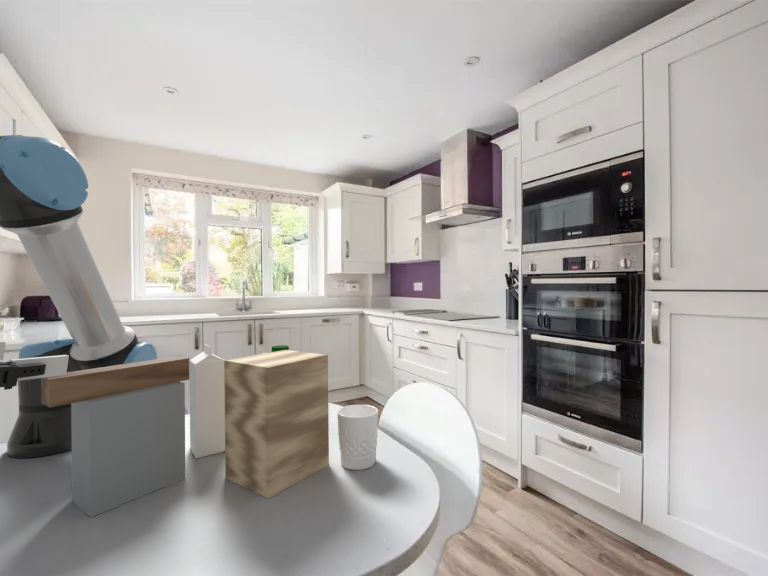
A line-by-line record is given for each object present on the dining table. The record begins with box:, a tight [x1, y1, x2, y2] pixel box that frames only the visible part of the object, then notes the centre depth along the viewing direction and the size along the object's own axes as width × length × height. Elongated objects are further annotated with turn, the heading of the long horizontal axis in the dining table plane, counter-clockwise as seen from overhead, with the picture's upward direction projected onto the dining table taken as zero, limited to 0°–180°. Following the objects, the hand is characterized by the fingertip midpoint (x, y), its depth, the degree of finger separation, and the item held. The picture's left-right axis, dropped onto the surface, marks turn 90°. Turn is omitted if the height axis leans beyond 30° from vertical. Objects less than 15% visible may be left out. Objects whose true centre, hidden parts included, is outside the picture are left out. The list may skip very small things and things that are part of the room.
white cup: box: [336, 404, 379, 471], centre depth 73 cm, size 8×8×10 cm
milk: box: [189, 343, 225, 459], centre depth 79 cm, size 6×6×22 cm
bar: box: [41, 355, 190, 408], centre depth 63 cm, size 4×20×4 cm, turn 145°
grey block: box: [71, 381, 186, 518], centre depth 64 cm, size 8×14×17 cm, turn 145°
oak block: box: [223, 349, 330, 499], centre depth 70 cm, size 12×14×21 cm
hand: (33, 357), depth 56 cm, fingers open, 13 cm apart
